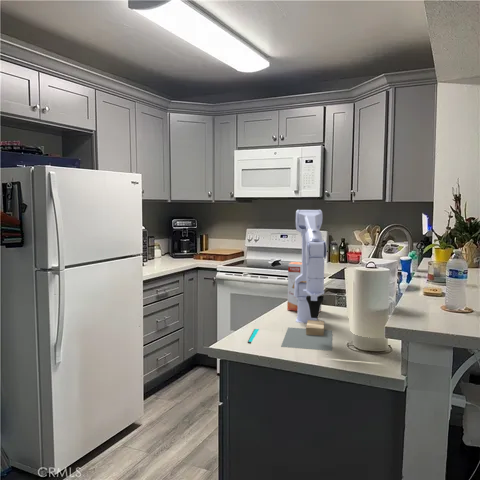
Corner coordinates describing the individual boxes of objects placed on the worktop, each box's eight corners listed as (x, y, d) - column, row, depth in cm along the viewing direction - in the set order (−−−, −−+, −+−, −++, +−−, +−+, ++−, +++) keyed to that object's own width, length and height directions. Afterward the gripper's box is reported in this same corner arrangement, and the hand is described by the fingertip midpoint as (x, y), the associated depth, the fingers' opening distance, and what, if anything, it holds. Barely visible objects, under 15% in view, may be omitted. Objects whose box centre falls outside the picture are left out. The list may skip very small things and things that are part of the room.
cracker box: (286, 310, 181) (287, 263, 180) (290, 307, 187) (291, 261, 185) (318, 313, 176) (319, 265, 174) (321, 310, 182) (322, 263, 180)
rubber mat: (288, 328, 154) (288, 327, 154) (332, 331, 151) (332, 330, 151) (280, 348, 133) (280, 346, 133) (332, 352, 129) (332, 350, 129)
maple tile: (305, 334, 146) (307, 326, 155) (323, 335, 144) (324, 327, 154) (306, 327, 145) (307, 319, 155) (323, 328, 144) (324, 321, 154)
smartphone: (247, 341, 137) (254, 328, 152) (247, 344, 138) (254, 331, 152) (269, 343, 136) (274, 330, 151) (269, 346, 136) (274, 332, 151)
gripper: (304, 273, 147) (303, 311, 148) (301, 280, 132) (300, 322, 133) (325, 274, 145) (324, 312, 146) (324, 281, 131) (323, 324, 132)
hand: (314, 317), depth 140 cm, fingers closed
